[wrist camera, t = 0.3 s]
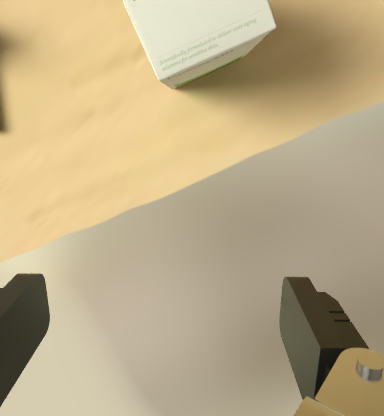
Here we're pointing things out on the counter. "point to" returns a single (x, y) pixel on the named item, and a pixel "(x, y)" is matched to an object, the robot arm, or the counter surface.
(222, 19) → the skincare box
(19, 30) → the counter surface
